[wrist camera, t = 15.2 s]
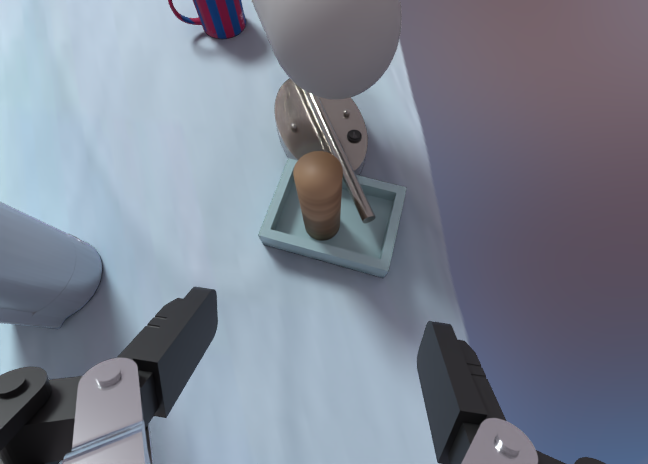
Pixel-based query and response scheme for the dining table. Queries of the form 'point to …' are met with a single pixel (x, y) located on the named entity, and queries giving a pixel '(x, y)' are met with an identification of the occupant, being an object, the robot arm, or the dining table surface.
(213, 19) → the mug
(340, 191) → the dowel
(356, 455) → the dining table surface
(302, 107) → the light fixture
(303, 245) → the bin
